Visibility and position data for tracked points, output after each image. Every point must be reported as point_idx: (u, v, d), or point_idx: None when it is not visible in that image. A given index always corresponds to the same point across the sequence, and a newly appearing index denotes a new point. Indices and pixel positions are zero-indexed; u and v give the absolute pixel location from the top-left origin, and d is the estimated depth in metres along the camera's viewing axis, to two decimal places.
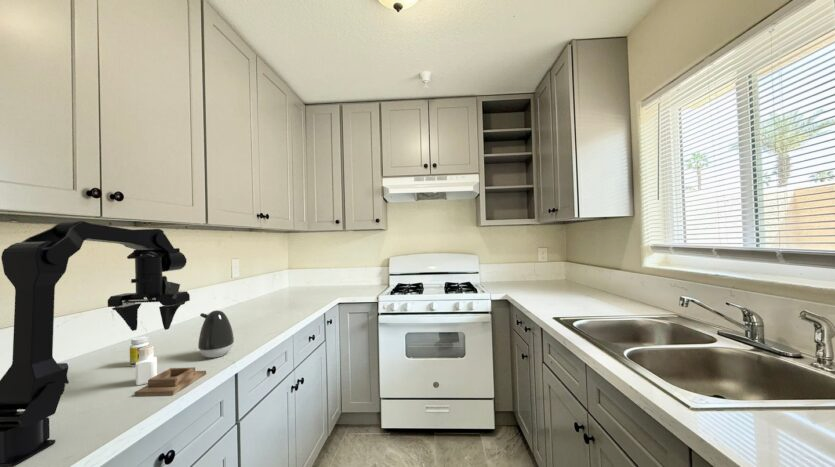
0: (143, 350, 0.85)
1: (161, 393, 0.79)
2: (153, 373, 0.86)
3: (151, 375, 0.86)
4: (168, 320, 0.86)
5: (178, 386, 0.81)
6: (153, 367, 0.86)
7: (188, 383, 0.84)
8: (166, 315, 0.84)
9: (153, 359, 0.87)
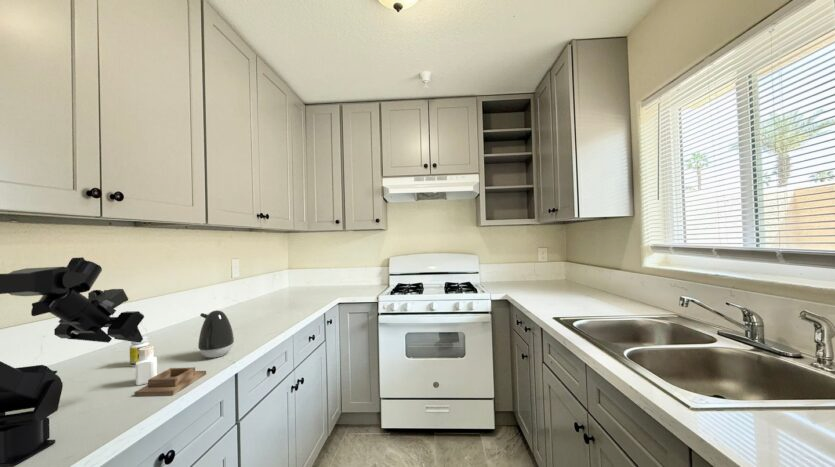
0: (143, 350, 0.85)
1: (161, 393, 0.79)
2: (153, 373, 0.86)
3: (151, 375, 0.86)
4: (135, 337, 0.79)
5: (178, 386, 0.81)
6: (153, 367, 0.86)
7: (188, 383, 0.84)
8: (129, 339, 0.77)
9: (153, 359, 0.87)
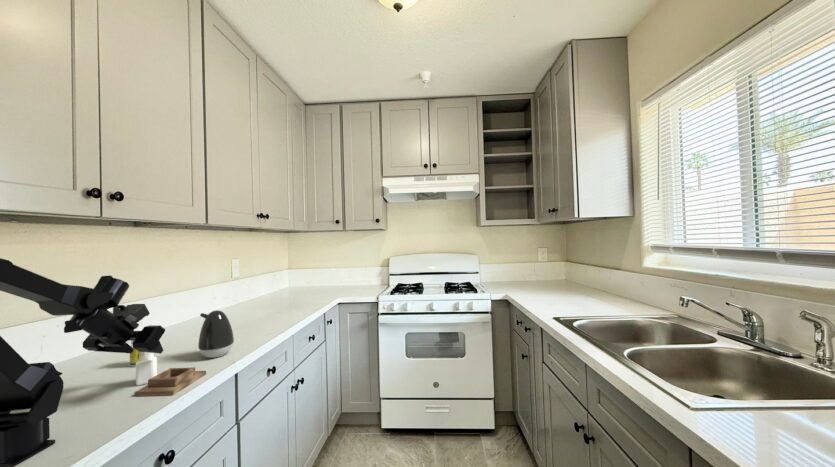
0: None
1: (161, 393, 0.79)
2: (153, 373, 0.86)
3: (151, 375, 0.86)
4: (157, 349, 0.84)
5: (178, 386, 0.81)
6: (153, 367, 0.86)
7: (188, 383, 0.84)
8: (151, 351, 0.82)
9: (153, 359, 0.87)
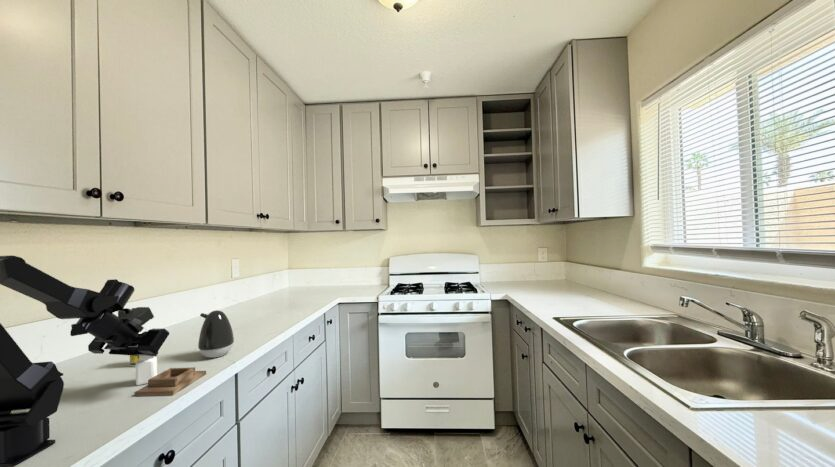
0: None
1: (161, 393, 0.79)
2: (153, 373, 0.86)
3: (151, 374, 0.86)
4: None
5: (178, 386, 0.81)
6: (153, 367, 0.86)
7: (188, 383, 0.84)
8: (146, 354, 0.84)
9: (153, 359, 0.87)
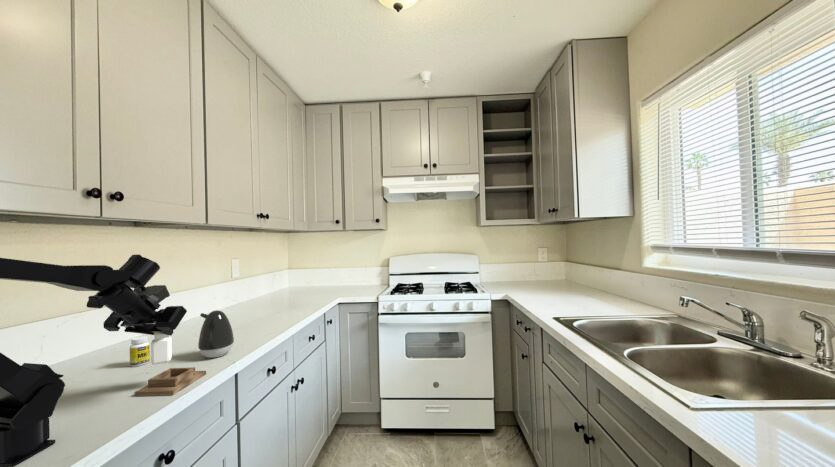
0: None
1: (161, 393, 0.79)
2: (169, 352, 0.85)
3: (167, 354, 0.84)
4: (168, 330, 0.84)
5: (178, 386, 0.81)
6: (169, 346, 0.85)
7: (188, 383, 0.84)
8: (163, 332, 0.82)
9: (169, 338, 0.85)
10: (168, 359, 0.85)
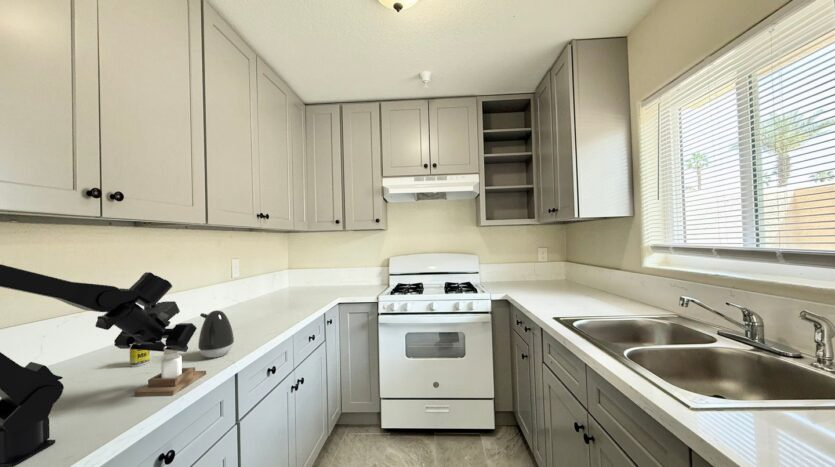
0: None
1: (161, 393, 0.79)
2: (179, 372, 0.84)
3: (177, 373, 0.84)
4: (182, 347, 0.83)
5: (178, 386, 0.81)
6: (179, 366, 0.84)
7: (188, 383, 0.84)
8: (177, 349, 0.81)
9: (178, 357, 0.84)
10: None
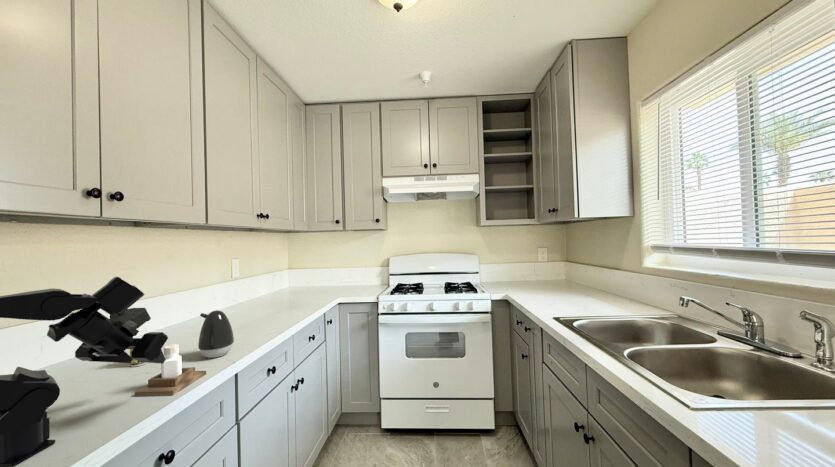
0: (169, 348, 0.83)
1: (161, 393, 0.79)
2: (179, 372, 0.84)
3: (177, 373, 0.84)
4: (159, 359, 0.75)
5: (178, 386, 0.81)
6: (179, 366, 0.84)
7: (188, 383, 0.84)
8: (152, 361, 0.73)
9: (178, 357, 0.85)
10: None
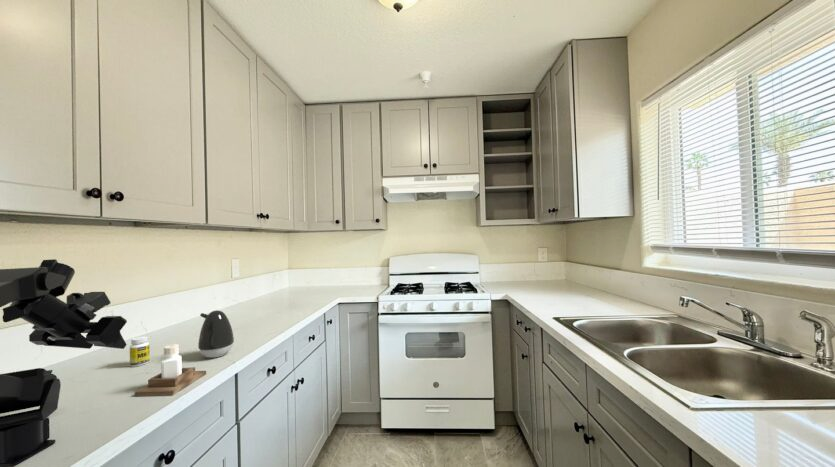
0: (169, 348, 0.83)
1: (161, 393, 0.79)
2: (179, 372, 0.84)
3: (177, 373, 0.84)
4: (118, 343, 0.74)
5: (178, 386, 0.81)
6: (179, 366, 0.84)
7: (188, 383, 0.84)
8: (110, 345, 0.71)
9: (178, 357, 0.85)
10: None
